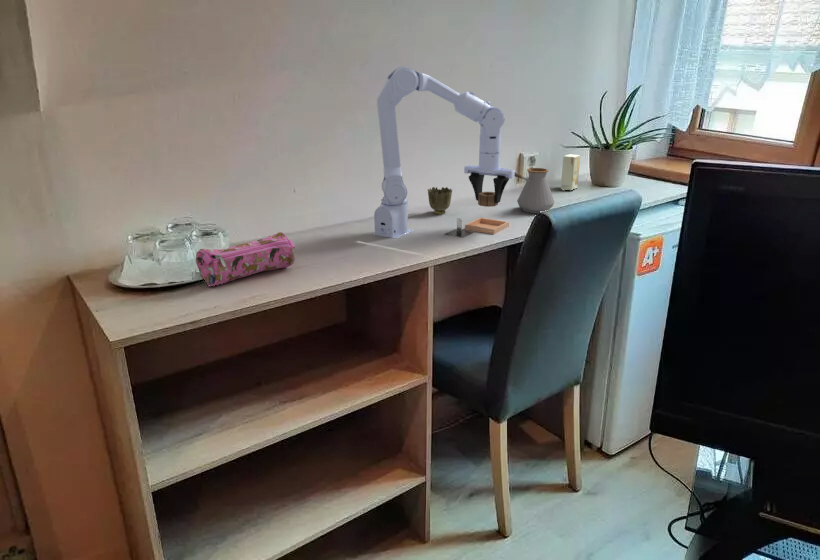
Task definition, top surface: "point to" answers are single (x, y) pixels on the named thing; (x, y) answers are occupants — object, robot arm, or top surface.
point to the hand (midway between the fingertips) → (488, 201)
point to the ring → (486, 199)
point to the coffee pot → (535, 192)
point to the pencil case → (245, 259)
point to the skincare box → (570, 172)
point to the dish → (487, 225)
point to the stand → (459, 230)
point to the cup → (439, 199)
